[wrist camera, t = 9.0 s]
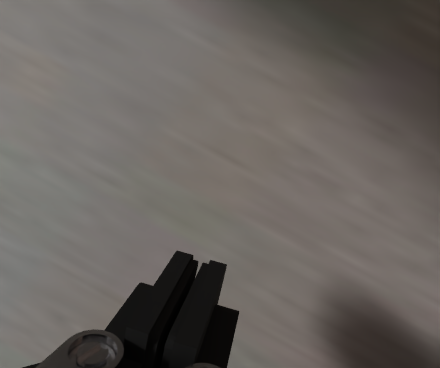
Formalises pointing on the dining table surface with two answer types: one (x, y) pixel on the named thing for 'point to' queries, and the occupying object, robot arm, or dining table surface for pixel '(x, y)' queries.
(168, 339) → the robot arm
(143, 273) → the dining table surface
